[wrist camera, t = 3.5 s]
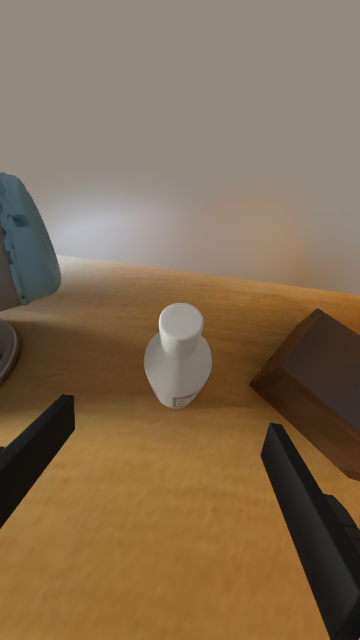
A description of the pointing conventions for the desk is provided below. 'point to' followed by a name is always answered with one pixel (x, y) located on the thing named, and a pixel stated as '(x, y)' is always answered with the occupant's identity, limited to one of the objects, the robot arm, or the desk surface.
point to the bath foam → (178, 356)
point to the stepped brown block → (318, 387)
